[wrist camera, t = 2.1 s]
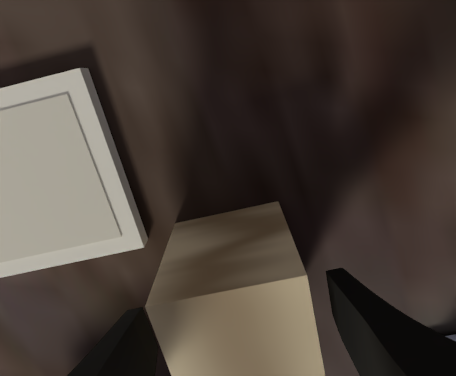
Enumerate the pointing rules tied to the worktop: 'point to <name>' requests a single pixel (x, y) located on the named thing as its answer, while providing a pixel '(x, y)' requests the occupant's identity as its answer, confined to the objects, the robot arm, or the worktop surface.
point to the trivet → (61, 177)
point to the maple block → (235, 298)
